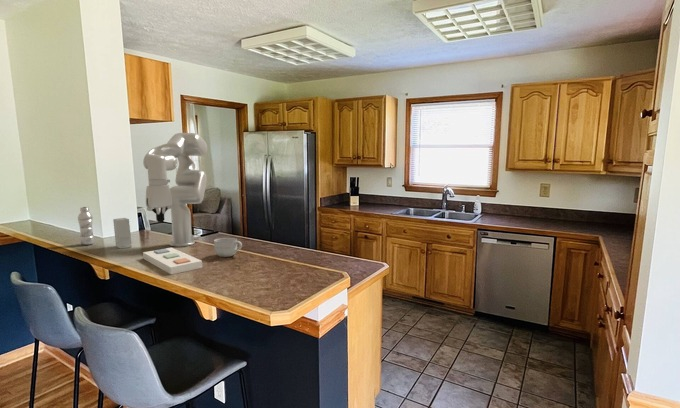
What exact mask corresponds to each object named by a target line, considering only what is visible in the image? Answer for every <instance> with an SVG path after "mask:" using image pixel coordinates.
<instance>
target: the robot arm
mask: <svg viewBox="0 0 680 408" xmlns="http://www.w3.org/2000/svg"><path fill="white" fill-rule="evenodd" d="M207 153H208V145H207V141H205V139H204V138H202V136H200V135H199V134H198V133H194V132H177V133H175V134H173V136H171V138H169V140H168V141H167V142H166V143H164V144H162V145H158V146H156V147H153V148H151V149H150V150H148V151H147V153H146V154H145V155H144V157H143V163H142V164H143V166H144V168H145V169H146V170H147V178H148V180H147V181H148V185H147V186H146V189H145V190H146V191H145V206H146V211H148V212H153V213H154V214H155V219H156V222H157V223H159V224H161V223H162V224H163V223H165V214H166V212H167V211H168V210H170V215H171V234H172V241H170V242H169V246H171V247H173V248H174V247H175V248H176V247H177V248H178V247H179V248H180V247H181V248H182V247H188V246H189V247H190V246H193V245H195V243H196V241H195V240H199V239H201V237H202V236H201V235H200V234H199V235H197V234H195V235H193V234H192V233H193V232H192V215H191V209H190V207H188V206H187V205H188V204H189V205H190V204H191V205H195V204H202V202H203V201H204V197H205V193H206V192H205V191H206V188H207V181H208V178H207V174H206V172H205V171H204V170H200V169H196V163H195V162H194V161H193V160H192V159H191V156H193V157H194V156H195V157H203V156H204V157H205V156H206V155H207ZM177 166H178V167H177ZM175 169H177V171H176V174H175V175H176V176H175V180H174V181H175V184H176V185H174V186H171V187H170V186H169V185H168V184H169V183H171V180H170V179H168V178H167V172H169V171H173V170H175Z"/></svg>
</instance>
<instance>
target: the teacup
mask: <svg viewBox="0 0 680 408" xmlns="http://www.w3.org/2000/svg"><path fill="white" fill-rule="evenodd" d="M213 242H214V243H213V247H214V249H213V251H214V252H215V253H214V254H215V255H217V256H219V257H222V258H226V257H233V256H234V255H235V254H236V253H237V252H238V251H239V250H241V249H242V247H243V244H242V242H241V241H239V240H238V239H237V238H234V237H225V238H224V237H223V238H215V239H214V240H213Z"/></svg>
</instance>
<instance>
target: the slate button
mask: <svg viewBox="0 0 680 408" xmlns="http://www.w3.org/2000/svg"><path fill="white" fill-rule="evenodd" d="M153 251H154V250H153ZM167 252H169V250H167V249H166V248H161V250H160V249H156V250H155V251H154V253H156V254H161V253H167Z"/></svg>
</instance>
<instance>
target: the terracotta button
mask: <svg viewBox="0 0 680 408" xmlns="http://www.w3.org/2000/svg"><path fill="white" fill-rule="evenodd" d="M173 262H174V263H176V264H182V263H187V262H190V260H189V259H186V258H182V259H177V260H173Z"/></svg>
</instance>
